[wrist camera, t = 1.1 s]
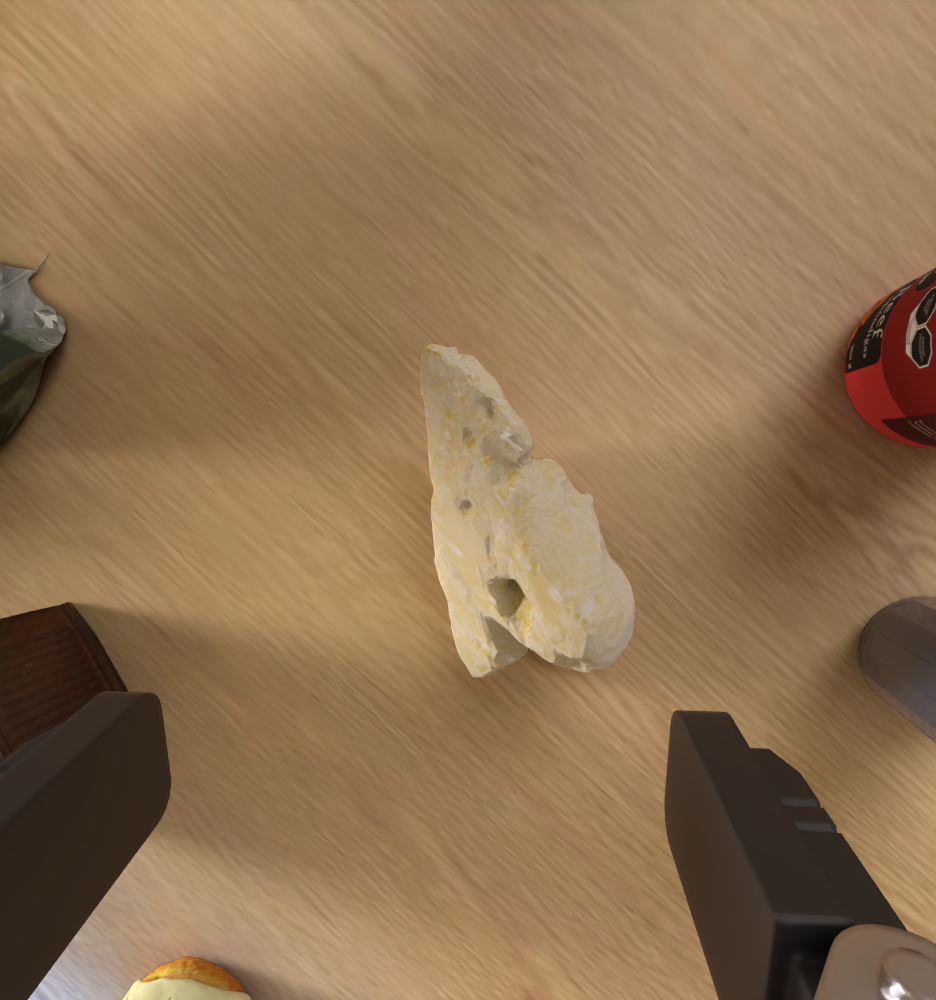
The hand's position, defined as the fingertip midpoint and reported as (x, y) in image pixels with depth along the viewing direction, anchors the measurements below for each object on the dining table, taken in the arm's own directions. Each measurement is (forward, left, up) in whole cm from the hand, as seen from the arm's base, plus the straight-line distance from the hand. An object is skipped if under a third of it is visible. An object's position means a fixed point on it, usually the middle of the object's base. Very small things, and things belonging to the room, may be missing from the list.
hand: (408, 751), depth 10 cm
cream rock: (-1, -2, -26) cm, 26 cm away
